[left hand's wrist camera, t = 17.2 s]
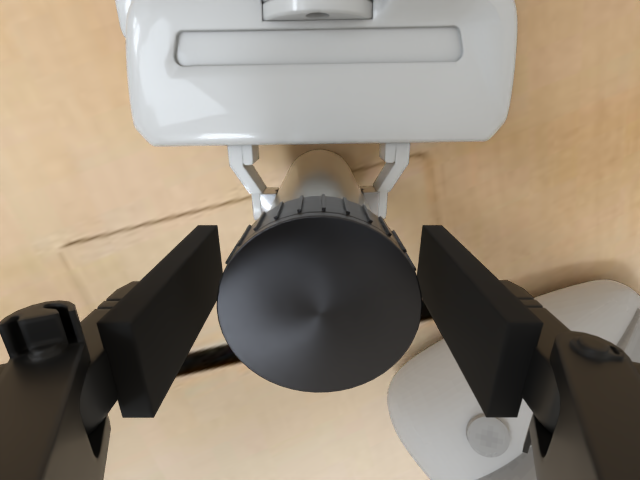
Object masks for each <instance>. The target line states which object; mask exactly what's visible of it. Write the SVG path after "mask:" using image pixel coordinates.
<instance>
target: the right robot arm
mask: <svg viewBox="0 0 640 480" xmlns="http://www.w3.org/2000/svg"><path fill="white" fill-rule="evenodd" d="M115 2H116V7H117V13H118V18H119V23H120V27H121V30H122V33H123V35H124V37H125V38H126V63H127V77H128V89H129V98H130V105H131V113H132V118H133V123H134V126H135V128H136V130H137V131H138V132H139V133H140V134H141V135H142V136H143V137H144V138H145V139H146V141H147V142H149V143H150V144H151V145H152V146H224V145H227V146H228V155H229V164H230V167H231V168H232V170H233V171H234V173H235V174H236V175H237V177H238V178H239V180H240V181H241V182H242V184H243V185H244V187H245V188H246V190H247V191H248V192H249V194H252V204H253V215H254V219H255V220H258V219H259V217H260V216H261V214H262V212H264V211H265V212H268V210H269V208H270V206H271V204H272V202H273V200H274V199H275V197H276V195H277V193H278V191H279V188H270V187H266V185H265V184H264V182H263V180H262V179H261V177H260V176H259V174H258V173H257V171H256V169H255V168H254V166H253V165H252V164H253V163H255V162H256V161H257V160H258V159H259V147H258V145H288V144H352V143H380V148H379V157H380V158H381V159H382V160H384V161H385V162H386V164H385V165H384V167H383V169H382V170H381V172H380V174H379V175H378V177H377V179H376V180H375V182H374V184H373V186H360V190H361V192H362V194H363V196H364V198H365V200H366V202H367V204H368V206H369V208H370V210H371V212H373V213H374V214H375V215H377V216H378V217H379V216H381V217H383V219H385V218H386V212H387V195H388V192H390V191H391V189H392V188H393V186H394V185H395V183H396V182H397V180H398V179H399V177H400V176H401V174H402V173H403V171H404V170H405V168H406V167H407V165H408V164H409V154H410V143H417V142H479V141H488V140H489V139H490V138H491V137H492V136H493V135H494V134H495V133H496V132H497V131H498V130H499V129H500V127H501V126H502V125H503V124H504V122H505V121H506V118H507V115H508V111H509V106H510V101H511V94H512V87H513V80H514V71H515V60H516V47H517V10H516V5H515V1H514V0H115Z"/></svg>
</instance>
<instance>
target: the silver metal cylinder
mask: <svg viewBox="0 0 640 480" xmlns="http://www.w3.org/2000/svg"><path fill="white" fill-rule="evenodd" d="M322 194H325V196H330V197H337V198H341V199H343V197H346V198H347V200H349V201H351V202H354V203H357V204H359V205H361V206H362V205H363V204H364V205H366V207H367V209H368V210H370V208H369V206H368V204H367V202H366V200H365V198H364V196H363V194H362V192H361V190H360V188H359V186H358V184H357V182H356V180H355V178H354V175H353V173H352V171H351V169H350V167H349V166H348V164H347V163H346V161H345V160H344V159H343V158H342V157H341V156H339V155H338V154H336V153H334V152H332V151H329V150H322V149H317V150H311V151H308V152H306V153H304V154H302V155H301V156H299V157H298V158H297V159H296V160H295V161H294V162H293V164H292V165H291V167H290V169H289V171H288V173H287V175H286V177H285V179H284V181H283V183H282V185H281V187H280V189H279V191H278V193H277V195H276V197H275V199H274V200H273V202H272V204H271V206H270V208H269V210H271V209H273V208H274V207H276V206H278V205H279V203H280V202H282V201H283V203H285V202H287V201H290V200H294V199H297V198H300V196H302V195H303V196H304V197H309V196H322ZM269 210H268V211H269ZM370 211H371V210H370Z"/></svg>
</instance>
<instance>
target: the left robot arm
mask: <svg viewBox="0 0 640 480" xmlns="http://www.w3.org/2000/svg"><path fill="white" fill-rule="evenodd" d="M222 274H223V271H222V262H221V253H220V245H219V236H218V227H217V225H198V226H197V227H196V228H195V229H194V230H193V231H192V232H191V233H190V234H189V235H188V236H186V237H185V238H184V239H183V240H182V241H181V242H180V243H179V244H178V245H177V246H176V247H175V248H174V249H173V250H172V251H171V252H170V253H169V254H168V255H167V256H166V257H165V258H164V259H162V260H161V261H160V262H159V263H158V264H157V265H156V266H155V267H154V268H153V269H152V270H151V271H150V272H149V273H148V274H147V275H146V276H145V277H144V278H143V279H142V280H141V281H133V282H131V283H129V284H127V285H125V286H123V287H121V288H119V289H117V290H116V291H115V292H114V293H113V294H112V295H111V296H109V297H108V298H107V300H106V301H104V302H103V303H102V304H100V305H99V306H98V309H95V310H94V311H93V312H91V313H90V314H89V315H88V316H87V317H86V318H85V319H84V320H83V321H81V322H80V321H79V317H78V314H77V310H76V307H75V305H74V304H73V303H71V302H69V301H49V302H43V303H39V304H35V305H31V306H29V307H26V308H23V309H21V310H18V311H16V312H14V313H12V314H11V315H9V316H7V317H5V318H4V319H3V320H2V321H1V322H0V334H1V337H2V339H3V342H4V344H5V347H6V349H7V351H8V354H9V356H10V360H9V361H8V363H6V364H1V365H0V480H103V478H104V472H105V465H106V458H107V451H108V444H109V438H110V431H111V427H110V421H109V417H108V413H109V411H110V410H111V408H112V407H113V405H114V404H115V403H116V401H117V400H118V402H119V406H120V410H121V413H122V417H123V418H154V416H155V414H156V412H157V411H158V409H159V407H160V405H161V403H162V401H163V399H164V398H165V396H166V394H167V392H168V390H169V388H170V386H171V385H172V383H173V381H174V379H175V377H176V375H177V373H178V372H179V370H180V368H181V366H182V364H183V362H184V360H185V359H186V357H187V355H188V353H189V351H190V349H191V347H192V346H193V344H194V342H195V340H196V338H197V336H198V334H199V333H200V331H201V329H202V327H203V325H204V323H205V321H206V320H207V318H208V316H209V314H210V312H211V310H212V308H213V307H214V305H215V303H216V301H217V293H218V287H219V282H220V279H221V277H222ZM417 278H418V281H419V284H420V289H421V294H422V299H423V301H424V303H425V305H426V307H427V308H428V310H429V312H430V314H431V316H432V318H433V320H434V321H435V323H436V325H437V327H438V329H439V331H440V333H441V334H442V336H443V338H444V340H445V342H446V344H447V346H448V347H449V349H450V351H451V353H452V355H453V357H454V359H455V360H456V362H457V364H458V366H459V368H460V370H461V372H462V373H463V375H464V377H465V379H466V381H467V383H468V385H469V386H470V388H471V390H472V392H473V394H474V396H475V398H476V399H477V401H478V403H479V405H480V407H481V409H482V411H483V413H484V414H485V416H486V418H517V417H518V413H519V410H520V406H521V402H522V399H524V401H525V402H526V404H527V405H528V406H529V408H530V409H531V411H532V412H533V414H532V417H531V421H530V424H529V428H528V431H527V434H526V438H525V441H524V444H523V450H522V452H524V453H527V454H528V451H529V447H530V446H531V445H532V450H533V457H534V464H535V470H536V477H537V480H640V363H637V362H632V361H631V359H630V357H629V356H628V355H627V354H626V353H625V352H624V351H623V350H622V349H621V348H619V347H617V346H616V345H614V344H613V343H611V342H609V341H607V340H605V339H603V338H600V337H598V336H595V335H591V334H588V333H584V332H577V331H571V330H570V329H568V328H567V327H566V326H565V325H564V324H563V323H562V322H561V321H559V320H558V319H557V318H556V317H555V316H554V315H553V314H552V313H550V312H549V311H548V310H547V309H546V308H543V306H542V305H541V304H540V303H539V302H538V301H537V300H534V298H533V297H532V296H531V295H530V294H529V293H528V292H527V291H526V290H524V289H523V288H521V287H520V286H518V285H516V284H514V283H512V282H510V281H508V280H498V279H497V278H496V277H495V276H494V275H493V274H492V273H491V272H490V271H489V270H488V269H487V268H486V267H485V266H484V265H483V264H482V263H481V262H480V261H479V260H478V259H476V258H475V257H474V256H473V255H472V254H471V253H470V252H469V251H468V250H467V249H466V248H465V247H464V246H463V245H462V244H461V243H460V242H459V241H458V240H457V239H456V238H455V237H454V236H452V235H451V234H450V233H449V232H448V231H447V230H446V229H445V228H444V227H443V226H442V225H423V227H422V236H421V245H420V253H419V262H418V271H417Z"/></svg>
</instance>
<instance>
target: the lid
mask: <svg viewBox="0 0 640 480" xmlns="http://www.w3.org/2000/svg"><path fill="white" fill-rule="evenodd" d="M406 252H407V251H406V249H405V247H404V246H403V244H402V242H401V241H400V239H399V237H398V236H397V234H396V233H395V231H394V230H393V231H391V230H390V229H389V227H388V226H387V224H386V223H385V221H384V219H383V217H381V216H379V217H378V216H377V215H375V214H374V213H373V212H371V211H370V210H368V209H367V207H366V205H364V204H363V205H362V206H361V205H359V204H357V203H354V202H351V201H349V200H347V198H346V197H343V199H341V198H337V197H330V196H325V194H322V196H309V197H304V196H303V195H302V196H300V198H297V199H294V200H290V201H287V202H285V203H283V201H282V202H280V203H279V205H278V206H276V207H274V208H273V209H271V210H269V211H268V212H265V211H264V212H262V214H261V216H260V217H259V219H258V220H257V221H256V222H255V223H254V224H253V225H252V226H251V225H249V226H248V227H247V229H246V230H245V232H244V234H243V235H242V237H241V238H240V240H239V241H238V243H237V244H236V246H235V248H234V249H233V251H232V252H231V254H230V256H229V257H228V259H227V260H226V264H227V266H226V268H225V270H224V272H223V274H222V277H221V279H220V282H219V287H218V293H217V314H218V320H219V324H220V327H221V330H222V333H223V335H224V337H225V339H226V342H227V343H228V345H229V346H230V348H231V350H232V351H233V353H234V354H235V355H236V356H237V357H238V358H239V359H240V361H241V362H242V363H244V364H245V365H246V366H247V367H248V368H249V369H250V370H252V371H253V372H255V373H256V374H257V375H259V376H261V377H262V378H264V379H266V380H268V381H270V382H272V383H275V384H277V385H279V386H282V387H286V388H289V389H293V390H298V391H304V392H334V391H341V390H346V389H350V388H353V387H356V386H359V385H362V384H364V383H367V382H369V381H371V380H373V379H375V378H376V377H378V376H380V375H381V374H383V373H384V372H386V371H387V370H388V369H390V368H391V367H392V366H393V365H394V364H395V363H396V362H397V361H398V360H399V359H400V358H401V357H402V356H403V355H404V353H405V352H406V351H407V350H408V348H409V346H410V345H411V343H412V341H413V339H414V337H415V335H416V332H417V330H418V327H419V323H420V319H421V312H422V294H421V289H420V284H419V281H418V278H417V275H416V273H415V271H416V268H415V266H414V264H413V263H412V261H411V259H410V258H409V256H408V254H407V253H406Z"/></svg>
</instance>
